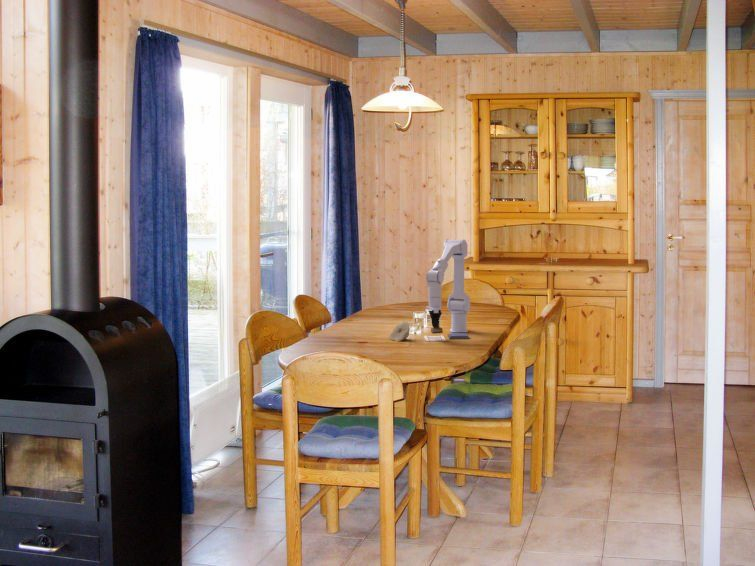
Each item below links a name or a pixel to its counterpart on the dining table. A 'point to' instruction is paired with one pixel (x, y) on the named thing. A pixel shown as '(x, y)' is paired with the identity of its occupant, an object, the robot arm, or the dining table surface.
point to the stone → (400, 332)
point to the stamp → (437, 330)
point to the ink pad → (458, 336)
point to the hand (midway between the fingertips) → (435, 326)
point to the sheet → (435, 338)
